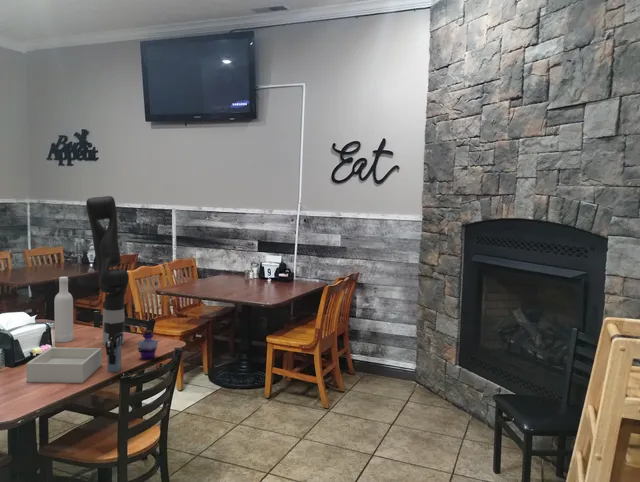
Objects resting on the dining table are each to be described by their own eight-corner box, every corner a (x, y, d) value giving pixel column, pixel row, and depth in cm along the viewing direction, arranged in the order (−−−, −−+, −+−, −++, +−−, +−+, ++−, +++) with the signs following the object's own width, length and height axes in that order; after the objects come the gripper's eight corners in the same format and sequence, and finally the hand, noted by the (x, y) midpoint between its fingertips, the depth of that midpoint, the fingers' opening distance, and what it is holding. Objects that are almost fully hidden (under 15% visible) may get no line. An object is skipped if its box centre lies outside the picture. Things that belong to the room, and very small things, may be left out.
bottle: (77, 338, 247) (76, 276, 245) (65, 343, 240) (65, 279, 237) (62, 337, 249) (62, 275, 246) (50, 341, 241) (50, 277, 239)
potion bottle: (135, 356, 225) (135, 329, 224) (155, 353, 229) (155, 327, 228) (140, 362, 218) (140, 334, 216) (160, 359, 222) (161, 331, 221)
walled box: (51, 364, 211) (51, 347, 211) (101, 364, 212) (101, 348, 212) (26, 382, 191) (26, 363, 191) (82, 382, 193) (82, 364, 192)
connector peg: (110, 368, 209) (110, 344, 208) (121, 368, 209) (121, 344, 208) (107, 371, 205) (107, 346, 204) (117, 371, 205) (117, 347, 204)
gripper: (110, 315, 212) (110, 356, 214) (98, 324, 198) (98, 368, 199) (129, 315, 212) (129, 356, 214) (118, 324, 198) (118, 368, 200)
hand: (114, 362), depth 207 cm, fingers closed on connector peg, 4 cm apart
